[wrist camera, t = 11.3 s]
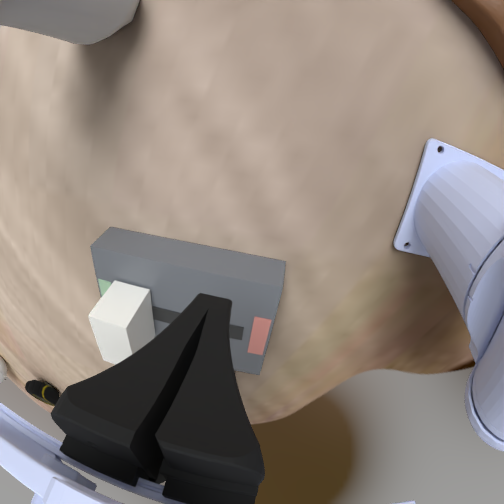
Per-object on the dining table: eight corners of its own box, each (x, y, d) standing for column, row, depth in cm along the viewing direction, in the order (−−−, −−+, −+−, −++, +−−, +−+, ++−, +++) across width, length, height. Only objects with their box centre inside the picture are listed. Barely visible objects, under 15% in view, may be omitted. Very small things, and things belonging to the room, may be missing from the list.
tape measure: (26, 375, 44) (22, 391, 41) (41, 376, 42) (36, 393, 39) (50, 390, 48) (46, 405, 45) (67, 392, 46) (63, 408, 44)
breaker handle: (149, 289, 21) (125, 328, 17) (155, 334, 23) (137, 372, 20) (114, 280, 21) (88, 315, 17) (124, 325, 24) (103, 360, 20)
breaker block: (285, 261, 21) (282, 288, 19) (263, 349, 27) (259, 376, 24) (110, 226, 22) (89, 246, 20) (124, 315, 28) (110, 337, 25)
